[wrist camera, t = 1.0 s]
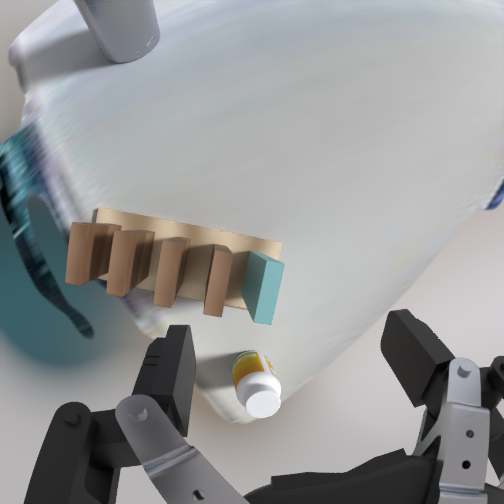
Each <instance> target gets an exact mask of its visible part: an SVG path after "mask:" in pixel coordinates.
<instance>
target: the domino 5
mask: <svg viewBox="0 0 504 504" xmlns="http://www.w3.org/2000/svg"><path fill="white" fill-rule="evenodd" d="M284 265H285V264H283V263H281V262H279V261H277V260H275V259H273V258H271V257H269V256H267V255H265V254H263V253H260V252H254V251H250V252H249V257H248V262H247V267H246V272H245V277H244V282H243V287H242V291H241V296H242V298H243V300H244V302H245V304H246V307H247V309H248V311H249V313H250V315H251V317H252V320H253V322H254V323H261V324H268V325H271V323H272V319H273V314H274V310H275V306H276V301H277V297H278V292H279V288H280V283H281V279H282V274H283V269H284Z"/></svg>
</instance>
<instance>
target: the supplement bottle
mask: <svg viewBox="0 0 504 504" xmlns="http://www.w3.org/2000/svg"><path fill="white" fill-rule="evenodd" d="M232 373H233V379H234V384H235V390H236V395H237V398H238V400H239V402H240V403H241V404H242V405H243V406H244V407H245V409H246V411H247V412H248V413H249V414H250V415H251V416H253V417H256V418H265V417H269V416H271V415H273V414H274V413H275V412H276V411H277V410H278V409H279V407H280V398H279V396H280V393H281V386H280V383H279V381H278V379H277V376H276V374H275V372H274V370H273V368H272V366H271V363H270V361H269V360H268V358H267V357H266V356H265V355H264V354H263V353H261V352H257V351H247V352H244V353H242V354H240V355H239V356H238V357H237V358H236V359H235V360H234V362H233V365H232Z"/></svg>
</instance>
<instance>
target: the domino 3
mask: <svg viewBox="0 0 504 504" xmlns="http://www.w3.org/2000/svg"><path fill="white" fill-rule="evenodd" d="M190 240H191V239H188V238H183V237H174V238H171V239H167V240H163V243H162V248H161V254H160V260H159V266H158V273H157V279H156V286H155V293H154V301H153V304H154V305H159V306H164V307H169V308H171V306H172V304H173V302H174V300H175V298H176V296H177V294H178V292H179V290H180V288H181V286H182V284H183V279H184V273H185V267H186V262H187V256H188V251H189V245H190Z"/></svg>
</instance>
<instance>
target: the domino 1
mask: <svg viewBox="0 0 504 504" xmlns="http://www.w3.org/2000/svg"><path fill="white" fill-rule="evenodd" d="M121 229H122V226H121V225H116V224H111V223H77V222H72V226H71V233H70V240H69V247H68V256H67V266H66V280H65V282H66V283H69V284H73V285H76V286H80V285H83V284H85V283H87V282H89V281H91V280H93V279H96V278H98V277H100V276H102V275H104V274H106V273H108V272H109V264H110V257H111V250H112V243H113V237H114V231H121Z"/></svg>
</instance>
